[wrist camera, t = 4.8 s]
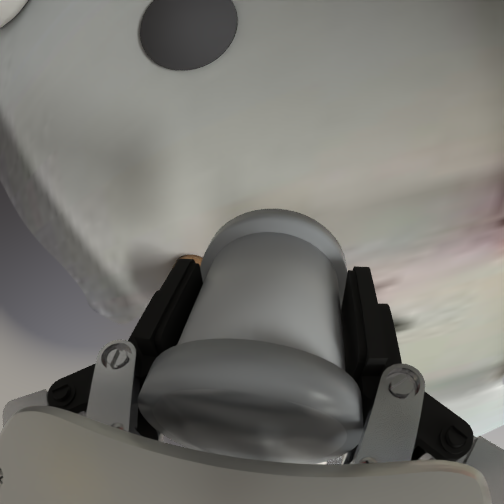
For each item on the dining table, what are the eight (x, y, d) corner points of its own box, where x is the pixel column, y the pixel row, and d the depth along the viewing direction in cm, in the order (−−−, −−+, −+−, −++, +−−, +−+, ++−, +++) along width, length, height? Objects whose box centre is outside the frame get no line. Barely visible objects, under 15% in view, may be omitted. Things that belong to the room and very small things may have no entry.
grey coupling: (355, 213, 10) (399, 387, 5) (335, 326, 14) (336, 470, 8) (198, 206, 11) (102, 353, 5) (213, 316, 14) (169, 449, 9)
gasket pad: (234, -24, 14) (233, -25, 14) (240, 64, 18) (239, 63, 17) (140, -4, 15) (138, -5, 15) (146, 77, 19) (143, 77, 18)
